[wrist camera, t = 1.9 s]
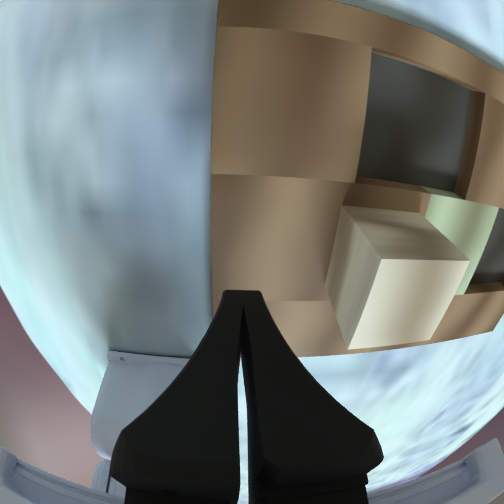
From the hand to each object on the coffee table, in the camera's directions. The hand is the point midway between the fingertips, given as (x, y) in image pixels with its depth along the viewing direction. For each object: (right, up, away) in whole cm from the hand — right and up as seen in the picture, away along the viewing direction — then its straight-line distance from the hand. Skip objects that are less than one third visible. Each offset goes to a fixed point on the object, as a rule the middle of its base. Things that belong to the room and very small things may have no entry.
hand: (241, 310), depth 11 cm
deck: (+12, +4, +5) cm, 14 cm away
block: (+7, +2, +5) cm, 9 cm away
